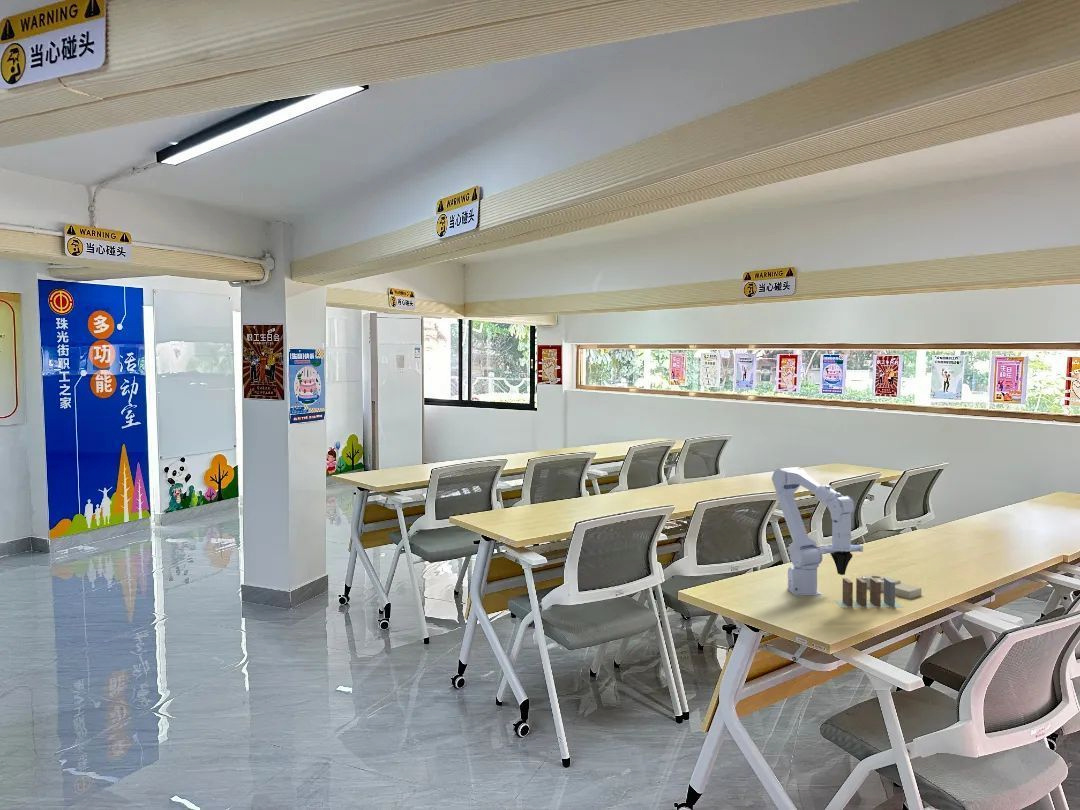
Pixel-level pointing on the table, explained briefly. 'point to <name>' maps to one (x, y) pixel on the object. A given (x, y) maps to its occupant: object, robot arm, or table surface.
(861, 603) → the walnut domino
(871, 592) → the walnut domino
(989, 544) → the table surface
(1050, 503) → the table surface
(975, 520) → the table surface
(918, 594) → the electrical outlet
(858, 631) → the table surface
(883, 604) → the sage mat
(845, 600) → the walnut domino
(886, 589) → the charcoal end domino
